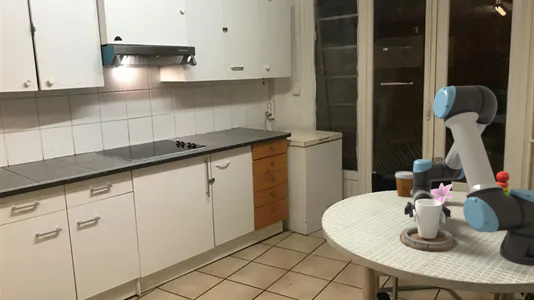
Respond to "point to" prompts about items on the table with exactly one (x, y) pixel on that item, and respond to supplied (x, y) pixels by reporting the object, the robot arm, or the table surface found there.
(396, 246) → the table surface
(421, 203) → the foam cup
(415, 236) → the plate
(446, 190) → the lily
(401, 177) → the disposable coffee cup
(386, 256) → the table surface
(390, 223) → the table surface
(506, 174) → the stacking toy
